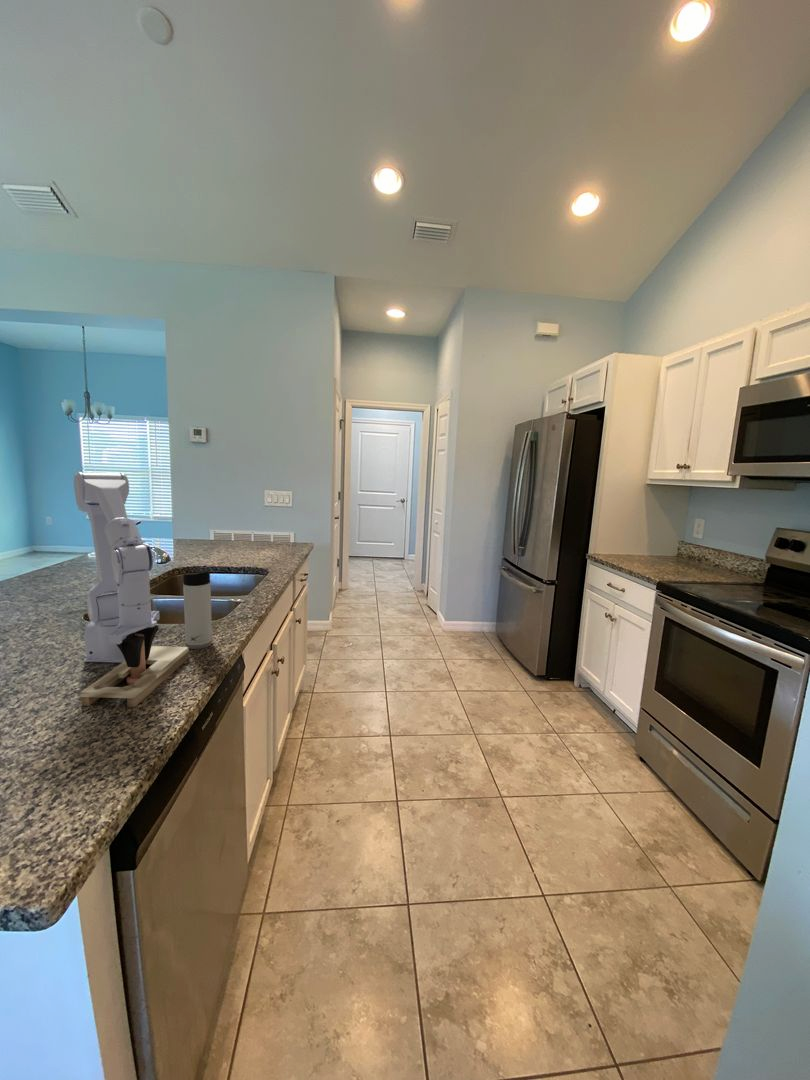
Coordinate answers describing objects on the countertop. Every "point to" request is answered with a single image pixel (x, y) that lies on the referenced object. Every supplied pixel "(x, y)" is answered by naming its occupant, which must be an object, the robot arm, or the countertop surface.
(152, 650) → the keyhole plate
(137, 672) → the terracotta peg
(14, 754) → the countertop surface
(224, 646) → the countertop surface
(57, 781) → the countertop surface
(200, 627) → the travel mug
